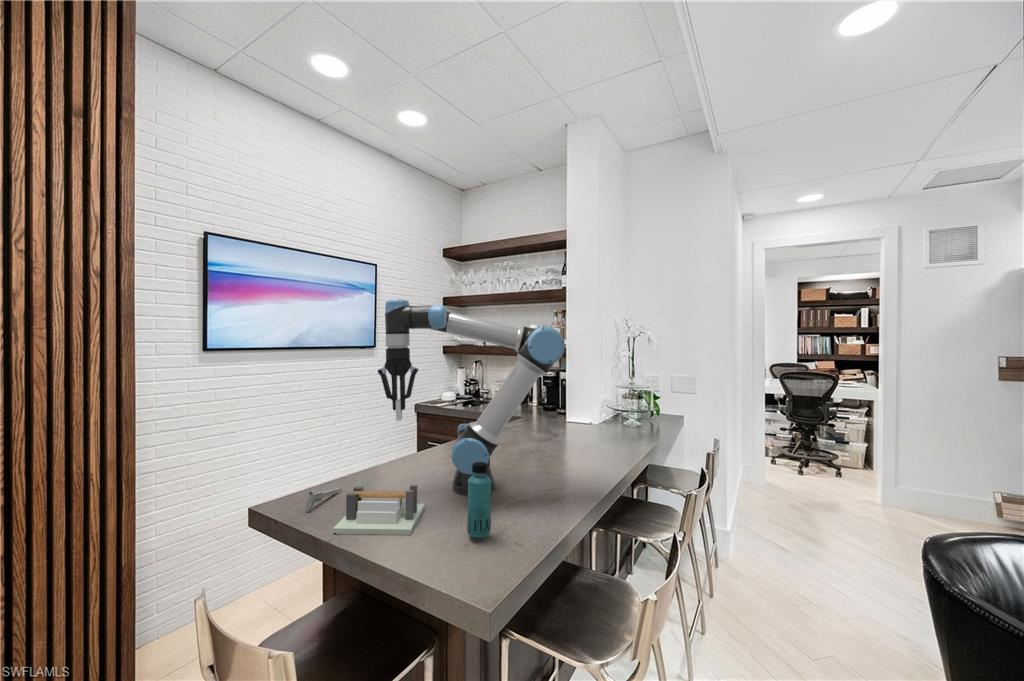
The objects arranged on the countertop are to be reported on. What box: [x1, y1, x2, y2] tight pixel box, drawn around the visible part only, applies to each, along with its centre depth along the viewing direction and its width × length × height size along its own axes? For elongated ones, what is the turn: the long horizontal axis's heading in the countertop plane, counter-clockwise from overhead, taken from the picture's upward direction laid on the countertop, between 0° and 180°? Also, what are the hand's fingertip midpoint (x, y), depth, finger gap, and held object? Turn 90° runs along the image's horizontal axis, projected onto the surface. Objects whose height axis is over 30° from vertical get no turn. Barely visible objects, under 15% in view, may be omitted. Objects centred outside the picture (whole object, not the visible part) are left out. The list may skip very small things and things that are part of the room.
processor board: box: [332, 484, 426, 536], centre depth 124 cm, size 21×18×10 cm
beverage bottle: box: [466, 462, 492, 539], centre depth 113 cm, size 6×7×20 cm
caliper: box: [305, 487, 344, 513], centre depth 138 cm, size 20×1×6 cm, turn 173°
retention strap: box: [352, 490, 415, 503], centre depth 124 cm, size 18×3×4 cm, turn 90°
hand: (399, 419), depth 138 cm, fingers closed
